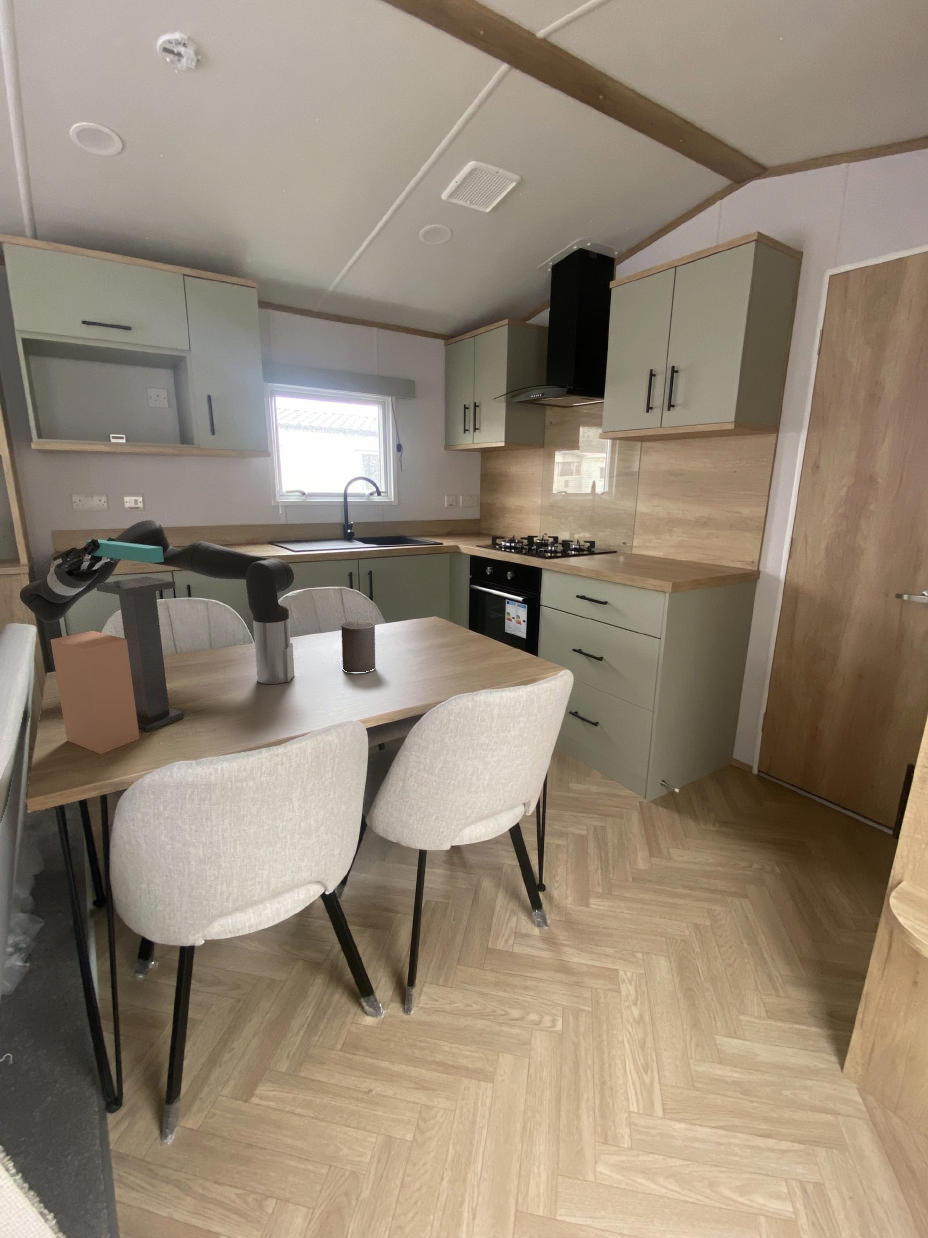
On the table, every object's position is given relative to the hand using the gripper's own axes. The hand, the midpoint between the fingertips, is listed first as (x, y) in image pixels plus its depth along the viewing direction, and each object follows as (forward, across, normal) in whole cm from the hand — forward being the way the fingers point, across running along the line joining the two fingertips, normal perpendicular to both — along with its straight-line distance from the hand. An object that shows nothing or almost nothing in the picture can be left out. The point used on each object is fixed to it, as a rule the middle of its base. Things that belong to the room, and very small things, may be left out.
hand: (105, 541), depth 121 cm
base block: (-12, +11, -39) cm, 42 cm away
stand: (-12, 0, -39) cm, 41 cm away
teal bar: (+4, 0, -6) cm, 7 cm away
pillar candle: (+3, -53, -48) cm, 71 cm away
